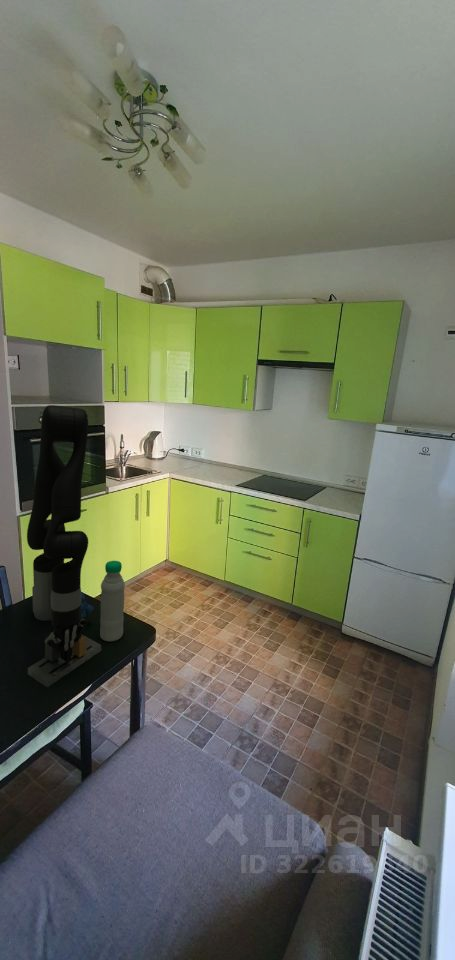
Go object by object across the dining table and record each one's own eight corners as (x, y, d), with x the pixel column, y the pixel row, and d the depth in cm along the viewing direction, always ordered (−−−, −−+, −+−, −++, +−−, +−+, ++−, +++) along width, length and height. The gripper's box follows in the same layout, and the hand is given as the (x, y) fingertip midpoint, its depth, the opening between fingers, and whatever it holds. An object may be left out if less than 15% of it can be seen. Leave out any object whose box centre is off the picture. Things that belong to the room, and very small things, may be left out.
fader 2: (72, 652, 110) (72, 637, 109) (79, 648, 112) (79, 633, 111) (79, 657, 109) (79, 641, 108) (86, 652, 111) (86, 637, 110)
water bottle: (116, 644, 119) (118, 569, 113) (95, 639, 120) (96, 565, 115) (126, 631, 126) (129, 560, 120) (106, 627, 127) (108, 556, 121)
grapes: (93, 635, 122) (93, 601, 119) (70, 637, 120) (70, 603, 117) (93, 614, 133) (94, 582, 130) (72, 616, 131) (72, 584, 128)
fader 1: (45, 657, 107) (44, 641, 106) (52, 653, 109) (52, 637, 108) (52, 662, 106) (51, 645, 105) (59, 657, 108) (59, 641, 107)
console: (27, 674, 104) (27, 667, 103) (82, 640, 119) (82, 634, 119) (47, 687, 100) (46, 680, 100) (101, 650, 116) (101, 644, 115)
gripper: (77, 588, 110) (77, 641, 114) (34, 608, 99) (35, 666, 103) (95, 597, 107) (94, 651, 111) (53, 619, 95) (53, 679, 99)
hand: (66, 658), depth 107 cm, fingers closed
